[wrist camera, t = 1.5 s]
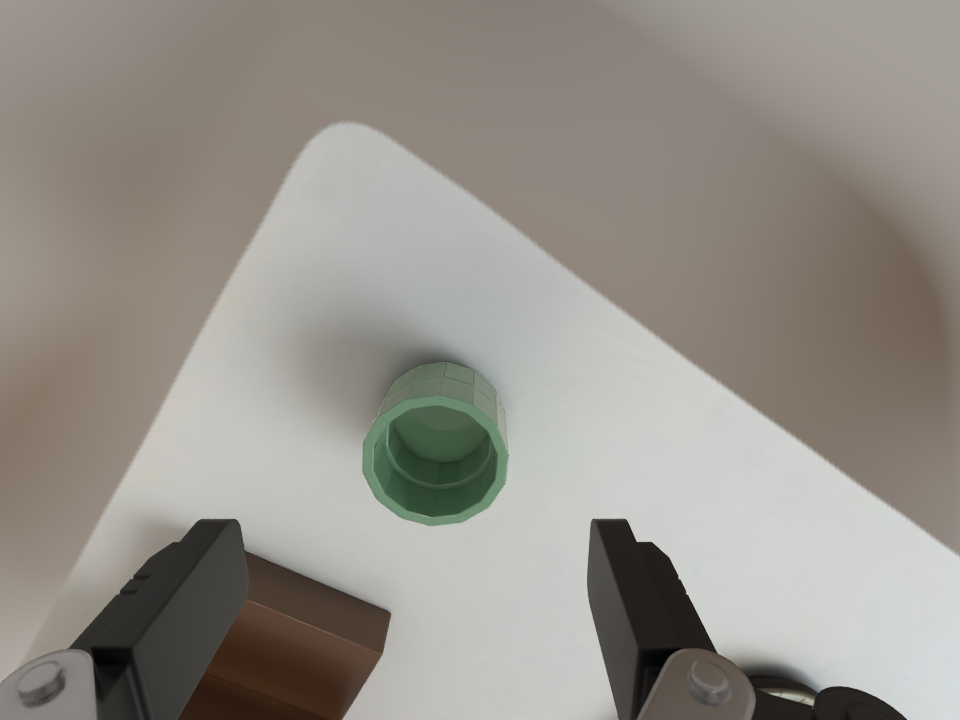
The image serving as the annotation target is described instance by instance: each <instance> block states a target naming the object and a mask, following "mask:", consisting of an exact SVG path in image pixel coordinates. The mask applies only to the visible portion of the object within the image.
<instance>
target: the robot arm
mask: <svg viewBox="0 0 960 720" xmlns="http://www.w3.org/2000/svg"><path fill="white" fill-rule="evenodd" d="M248 586H249V573H248V567H247V562H246V556H245V550H244V544H243V538H242V532H241V527H240V524H239V522H238V521H237V520H236V519H201V520H199V521H197V522H196V523H195V525H194V526H193V527H192V528H191V529H190V531H189V532H188V533H187V534H186V535H185V536H184V538H183V539H182V540H181V541H180V542H173V543H171V544H170V545H168V546H167V547H165V548H164V549H162V550H161V551H159V552H158V553H156V554H155V555H153V556H152V557H150V558H149V559H148V560H147V562H146V563H145V564H144V565H143V566H142V567H141V568H140V569H139V570H138V572H137V573H136V574H135V575H134V578H133V579H130V580H129V582H128V583H127V584H126V585H125V586H124V587H123V588H122V589H121V590H120V594H119V595H116V596H115V597H114V598H113V599H112V600H111V602H110V603H109V604H108V605H107V606H106V607H105V608H104V609H103V610H102V612H101V613H100V614H99V615H98V616H97V617H96V618H95V619H94V620H93V622H92V623H91V624H90V625H89V626H88V627H87V628H86V629H85V630H84V632H83V633H82V634H81V635H80V636H79V637H78V638H77V639H76V640H75V642H74V643H73V644H72V645H71V646H70V647H69V648H68V649H66V650H60V651H56V652H52V653H49V654H46V655H43V656H41V657H39V658H36V659H34V660H32V661H30V662H29V663H27V664H25V665H23V666H22V667H20V668H19V669H17V670H16V671H14V672H13V673H12V674H10V675H9V676H8V677H7V678H6V679H5V680H3V681H2V682H1V683H0V720H178V718H179V716H180V714H181V713H182V711H183V709H184V707H185V706H186V704H187V702H188V700H189V699H190V697H191V695H192V693H193V692H194V690H195V688H196V686H197V685H198V683H199V681H200V679H201V678H202V676H203V674H204V673H205V671H206V669H207V667H208V666H209V664H210V662H211V660H212V659H213V657H214V655H215V653H216V652H217V650H218V648H219V646H220V645H221V643H222V641H223V639H224V638H225V636H226V634H227V632H228V631H229V629H230V627H231V625H232V624H233V622H234V620H235V619H236V617H237V615H238V613H239V612H240V610H241V608H242V606H243V604H244V602H245V599H246V596H247V592H248ZM587 588H588V597H589V604H590V608H591V612H592V616H593V620H594V623H595V627H596V631H597V635H598V639H599V643H600V647H601V651H602V655H603V659H604V662H605V666H606V670H607V674H608V678H609V682H610V686H611V690H612V694H613V698H614V701H615V705H616V709H617V713H618V717H619V720H907V719H906V718H905V717H904V716H903V715H902V714H900V713H899V712H898V711H897V710H895V709H894V708H893V707H891V706H890V705H888V704H887V703H886V702H884V701H882V700H880V699H879V698H877V697H875V696H873V695H871V694H868V693H866V692H863V691H860V690H858V689H853V688H849V687H841V686H838V687H829V688H826V689H824V690H822V691H820V692H819V693H818V694H817V696H816V698H815V700H814V704H813V706H811V705H808V704H804V703H801V702H797V701H793V700H790V699H786V698H782V697H779V696H775V695H772V694H769V693H766V692H763V691H761V690H759V689H757V688H755V687H753V686H752V684H751V682H750V681H749V679H748V678H747V676H746V675H745V674H744V673H743V672H742V670H741V669H740V668H738V667H737V666H736V665H735V664H734V663H732V662H731V661H729V660H728V659H726V658H725V657H723V656H721V655H719V654H718V653H717V652H716V650H715V648H714V646H713V644H712V642H711V640H710V638H709V636H708V634H707V632H706V630H705V628H704V626H703V624H702V622H701V620H700V618H699V616H698V614H697V612H696V610H695V608H694V606H693V604H692V602H691V600H690V598H689V596H688V595H686V590H685V588H684V586H683V584H682V582H681V580H679V578H678V574H677V572H676V570H675V568H674V566H673V564H672V562H671V560H670V558H669V557H668V556H667V555H666V554H665V553H663V552H662V551H661V550H660V549H659V548H658V547H657V546H656V545H655V544H653V543H652V542H636V539H635V537H634V535H633V532H632V530H631V528H630V526H629V523H628V521H627V520H626V519H592V522H591V527H590V542H589V557H588V571H587Z"/></svg>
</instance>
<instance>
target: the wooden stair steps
mask: <svg viewBox="0 0 960 720" xmlns="http://www.w3.org/2000/svg"><path fill="white" fill-rule="evenodd" d="M245 556H246V562H247V567H248V573H249V586H248V592H247V596H246V599H245V602H244V604H243V606H242V608H241V610H240V612H239V613H238V615H237V617H236V619H235V620H234V622H233V624H232V625H231V627H230V629H229V631H228V632H227V634H226V636H225V638H224V639H223V641H222V643H221V645H220V646H219V648H218V650H217V652H216V653H215V655H214V657H213V659H212V660H211V662H210V664H209V666H208V667H207V669H206V671H205V673H204V674H203V676H202V678H201V679H200V681H199V683H198V685H197V686H196V688H195V690H194V692H193V693H192V695H191V697H190V699H189V700H188V702H187V704H186V706H185V707H184V709H183V711H182V713H181V714H180V716H179V718H178V720H342V719H343V718H344V716H345V715H346V713H347V711H348V710H349V708H350V706H351V705H352V703H353V702H354V700H355V698H356V697H357V695H358V693H359V692H360V690H361V689H362V687H363V685H364V684H365V682H366V680H367V679H368V677H369V676H370V674H371V672H372V671H373V669H374V667H375V666H376V664H377V663H378V661H379V659H380V658H381V656H382V655H383V650H384V646H385V641H386V636H387V632H388V627H389V622H390V618H391V613H389V612H387V611H384V610H382V609H379V608H377V607H375V606H372V605H370V604H368V603H365V602H363V601H360V600H358V599H356V598H353V597H351V596H349V595H346V594H344V593H341V592H339V591H337V590H334V589H332V588H330V587H327V586H325V585H322V584H320V583H318V582H315V581H313V580H311V579H308V578H306V577H304V576H301V575H299V574H296V573H294V572H292V571H289V570H287V569H285V568H282V567H280V566H277V565H275V564H273V563H270V562H268V561H266V560H263V559H261V558H258V557H256V556H254V555H251V554H249V553H247V552H245Z"/></svg>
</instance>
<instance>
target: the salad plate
mask: <svg viewBox="0 0 960 720" xmlns="http://www.w3.org/2000/svg"><path fill="white" fill-rule="evenodd" d="M748 679H749V681H750V682H751V684H752V686H753V687H755V688H757V689H759V690H761V691H763V692H766V693H769V694H772V695H775V696H779V697H782V698H786V699H790V700H793V701H797V702H801V703H804V704H808V705H811V706H813V704H814V700H815V698H816V696H817V694H818V693H817V692H816V691H814V690H813V689H811V688H809V687H808V686H806V685H803V684H800V683H795V682H791V681H788V680H785V679H781V678H777V677H773V676H755V677H749V678H748Z"/></svg>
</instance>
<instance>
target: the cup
mask: <svg viewBox="0 0 960 720" xmlns="http://www.w3.org/2000/svg"><path fill="white" fill-rule="evenodd" d="M508 459H509V450H508V440H507V430H506V420H505V412H504V409H503V407H502V404H501V402H500V399H499V397H498V394H497V392H496V389H494V387H493V386H492V385H491V384H490V383H488V382H487V381H486V380H485V379H484V378H483V377H482V376H481V375H479V374H478V373H477V372H476V371H474V370H473V369H470V368H466V367H463V366H460V365H456V364H453V363H450V362H438V363H431V364H424V365H419V366H416V367H414V368H413V369H411V370H410V371H408V372H406V373H405V374H403V375H402V376H400V377H399V378H397V379H396V380H395V381H394V382H393V383H392V385H391V387H390V389H389V390H388V392H387V394H386V396H385V397H384V399H383V401H382V403H381V405H380V407H379V409H378V411H377V413H376V416H375V418H374V420H373V422H372V424H371V426H370V428H369V430H368V433H367V435H366V437H365V439H364V441H363V466H362V471H363V474H364V476H365V478H366V480H367V482H368V484H369V486H370V488H371V490H372V492H373V494H374V496H375V498H377V500H378V501H379V502H381V503H382V504H383V505H385V506H386V507H387V508H388V509H390V510H391V511H392V512H394V513H395V514H396V515H397V516H399V517H401V518H403V519H406V520H410V521H414V522H417V523H421V524H425V525H428V526H438V525H446V524H454V523H462V522H464V521H466V520H468V519H469V518H471V517H473V516H475V515H476V514H478V513H480V512H482V511H483V510H485V509H487V508H488V507H490V505H491V504H492V502H493V501H494V499H495V498H496V496H497V495H498V494H499V492H500V491H501V489H502V488H503V486H504V485H505V482H506V477H507V468H508Z"/></svg>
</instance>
